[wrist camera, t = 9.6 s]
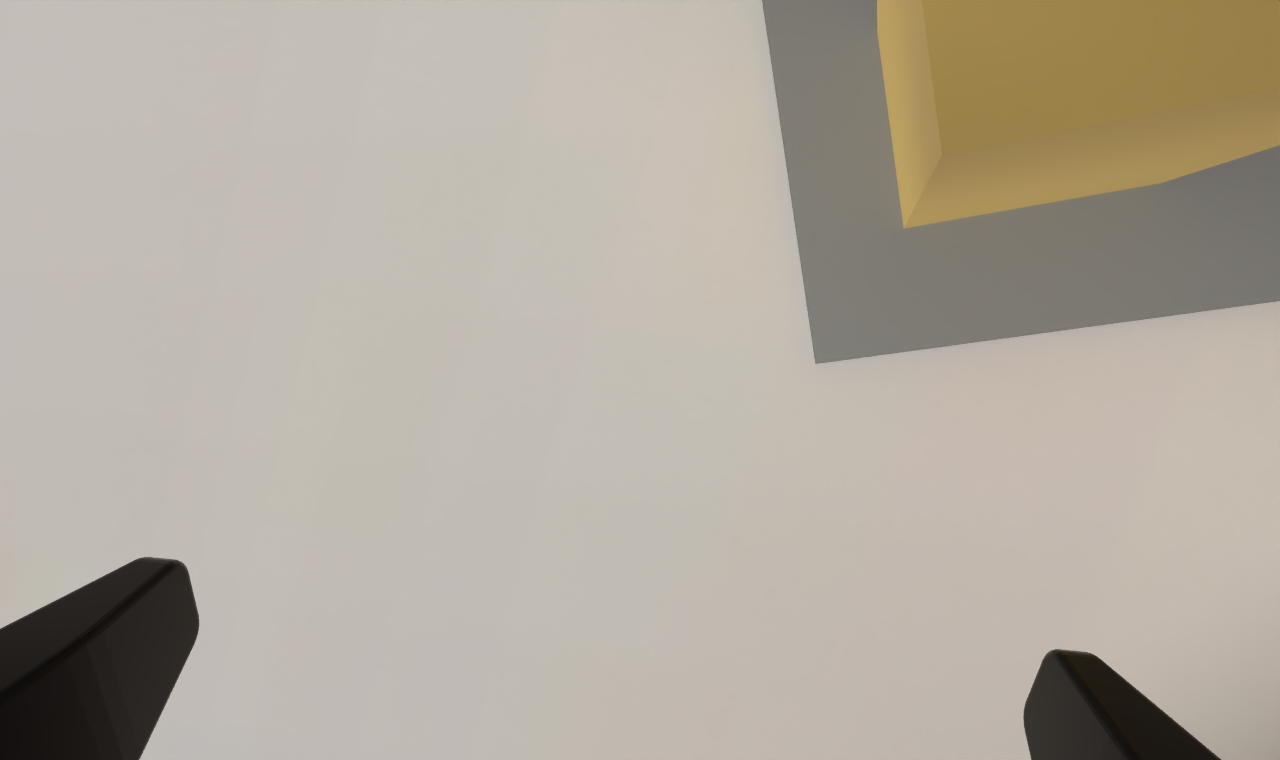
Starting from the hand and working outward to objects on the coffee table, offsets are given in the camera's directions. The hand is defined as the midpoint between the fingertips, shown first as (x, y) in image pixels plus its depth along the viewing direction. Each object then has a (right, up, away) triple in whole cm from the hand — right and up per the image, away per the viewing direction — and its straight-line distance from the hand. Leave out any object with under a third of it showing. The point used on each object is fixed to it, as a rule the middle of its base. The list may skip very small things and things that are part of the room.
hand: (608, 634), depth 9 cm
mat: (+9, +9, +10) cm, 16 cm away
